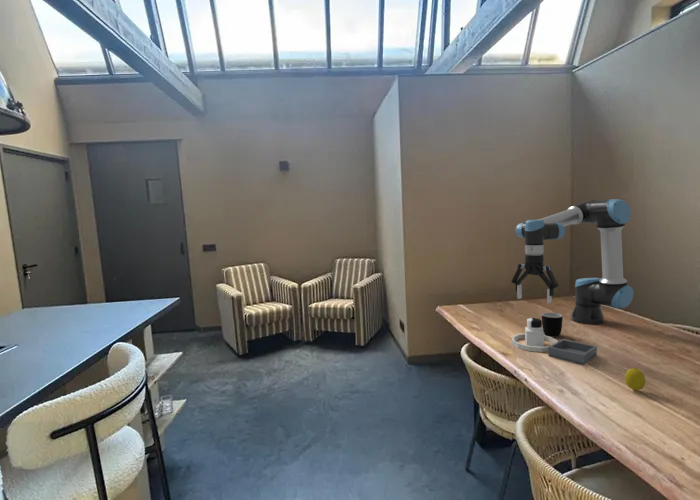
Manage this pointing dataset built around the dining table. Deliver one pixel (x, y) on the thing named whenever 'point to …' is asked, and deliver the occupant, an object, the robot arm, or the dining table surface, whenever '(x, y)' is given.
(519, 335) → the ring holder
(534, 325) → the medicine bottle
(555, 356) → the tray
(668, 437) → the dining table surface
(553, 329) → the mug
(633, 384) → the lemon
